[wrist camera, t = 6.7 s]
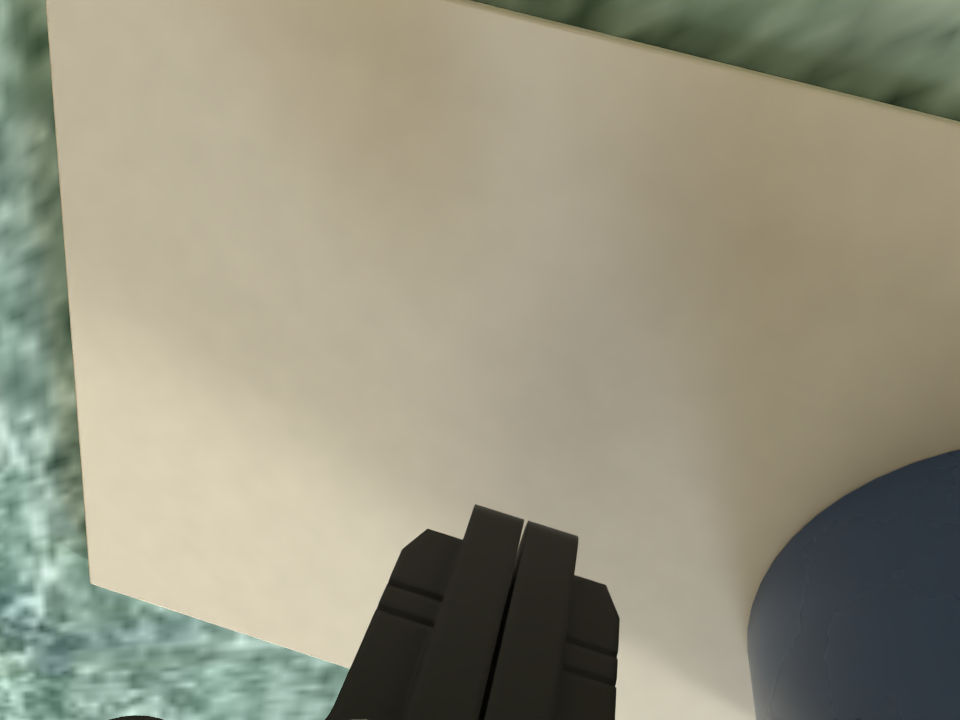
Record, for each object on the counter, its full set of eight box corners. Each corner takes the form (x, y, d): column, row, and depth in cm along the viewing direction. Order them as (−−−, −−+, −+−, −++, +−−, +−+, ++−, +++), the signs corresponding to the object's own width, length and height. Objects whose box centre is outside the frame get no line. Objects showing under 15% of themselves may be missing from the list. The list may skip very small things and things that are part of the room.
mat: (58, -103, 10) (35, -105, 9) (2477, 496, 7) (2564, 523, 7) (101, 570, 16) (89, 584, 15) (1452, 1010, 13) (1473, 1038, 13)
